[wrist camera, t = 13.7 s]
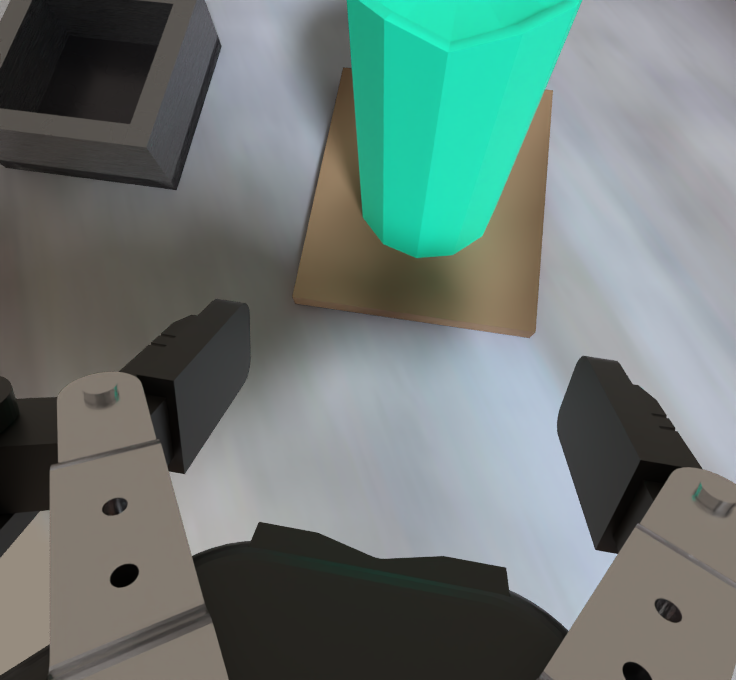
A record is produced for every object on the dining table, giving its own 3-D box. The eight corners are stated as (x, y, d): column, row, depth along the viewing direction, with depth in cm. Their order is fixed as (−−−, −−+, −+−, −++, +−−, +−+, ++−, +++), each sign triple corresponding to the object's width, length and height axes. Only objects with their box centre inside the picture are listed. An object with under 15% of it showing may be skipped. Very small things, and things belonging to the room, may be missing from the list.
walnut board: (547, 103, 23) (552, 90, 22) (529, 337, 20) (535, 332, 19) (344, 80, 24) (343, 67, 23) (295, 303, 21) (292, 296, 20)
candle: (372, 130, 22) (363, -248, 11) (503, 149, 22) (641, -226, 10) (346, 246, 21) (301, -52, 9) (487, 269, 20) (629, -14, 9)
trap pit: (221, 46, 25) (200, -11, 22) (176, 190, 22) (146, 147, 20) (65, 29, 25) (24, -29, 23) (5, 167, 23) (-49, 122, 20)
